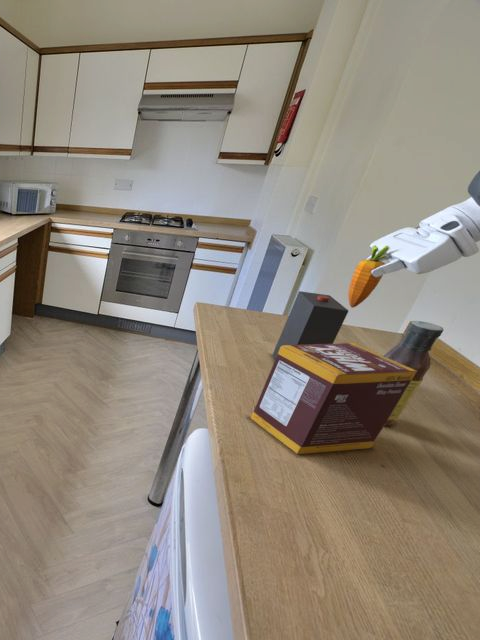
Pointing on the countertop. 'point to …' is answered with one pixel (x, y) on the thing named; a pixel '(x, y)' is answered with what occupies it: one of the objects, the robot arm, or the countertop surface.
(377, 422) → the supplement box
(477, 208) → the robot arm
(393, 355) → the sauce bottle
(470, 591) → the countertop surface
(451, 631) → the countertop surface
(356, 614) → the countertop surface
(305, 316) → the box with red knob
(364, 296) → the carrot
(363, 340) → the countertop surface
